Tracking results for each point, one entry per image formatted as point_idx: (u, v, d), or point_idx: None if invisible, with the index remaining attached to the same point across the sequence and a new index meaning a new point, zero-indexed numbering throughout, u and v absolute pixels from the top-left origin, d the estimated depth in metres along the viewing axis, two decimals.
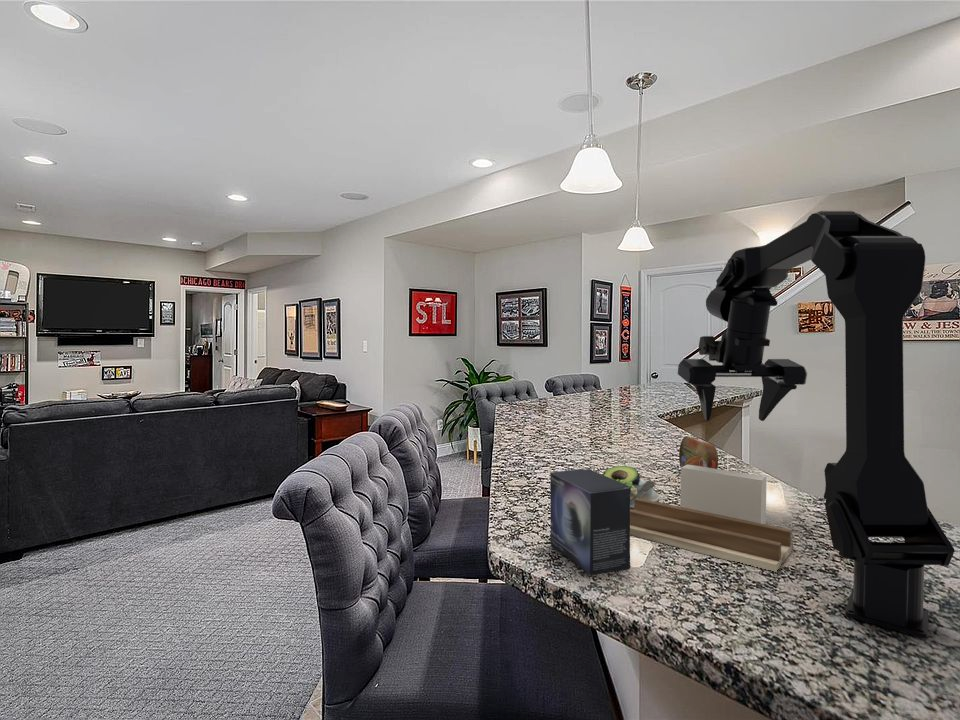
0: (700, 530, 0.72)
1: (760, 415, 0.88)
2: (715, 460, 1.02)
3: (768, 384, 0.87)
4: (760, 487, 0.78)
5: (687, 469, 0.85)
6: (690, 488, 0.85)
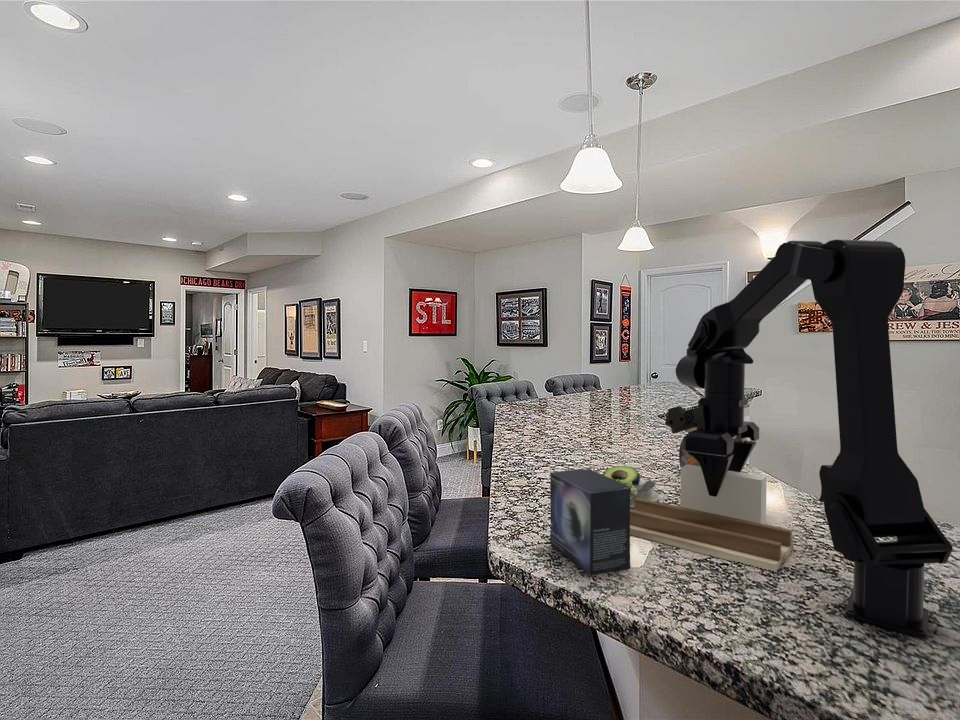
0: (700, 530, 0.72)
1: None
2: None
3: None
4: (760, 487, 0.78)
5: (687, 469, 0.85)
6: (690, 488, 0.85)
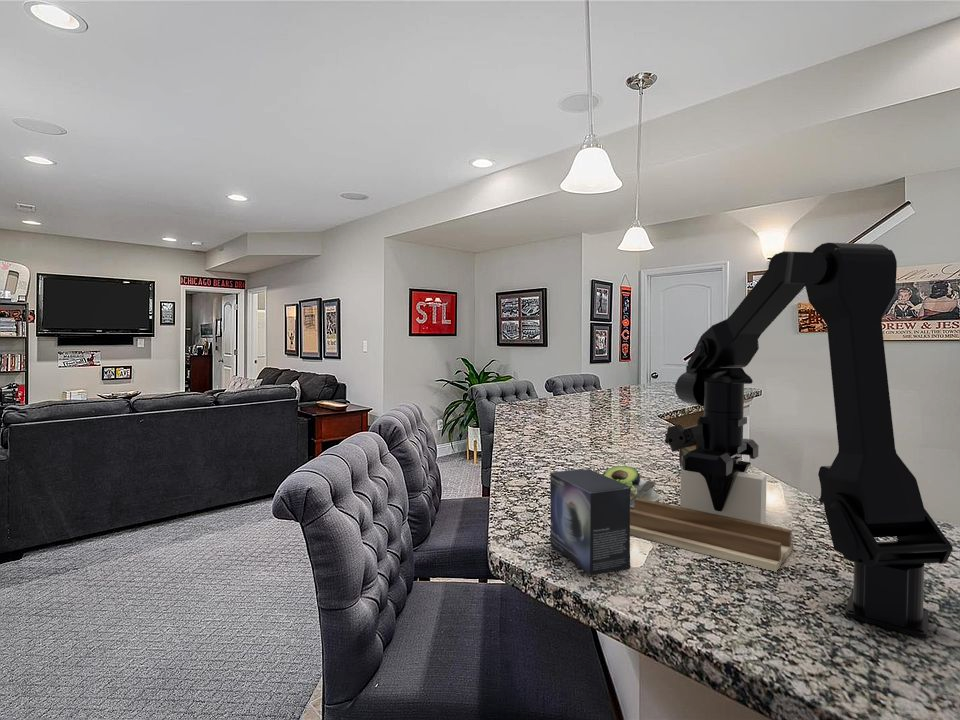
0: (700, 530, 0.72)
1: None
2: None
3: None
4: (760, 486, 0.78)
5: None
6: (690, 487, 0.85)
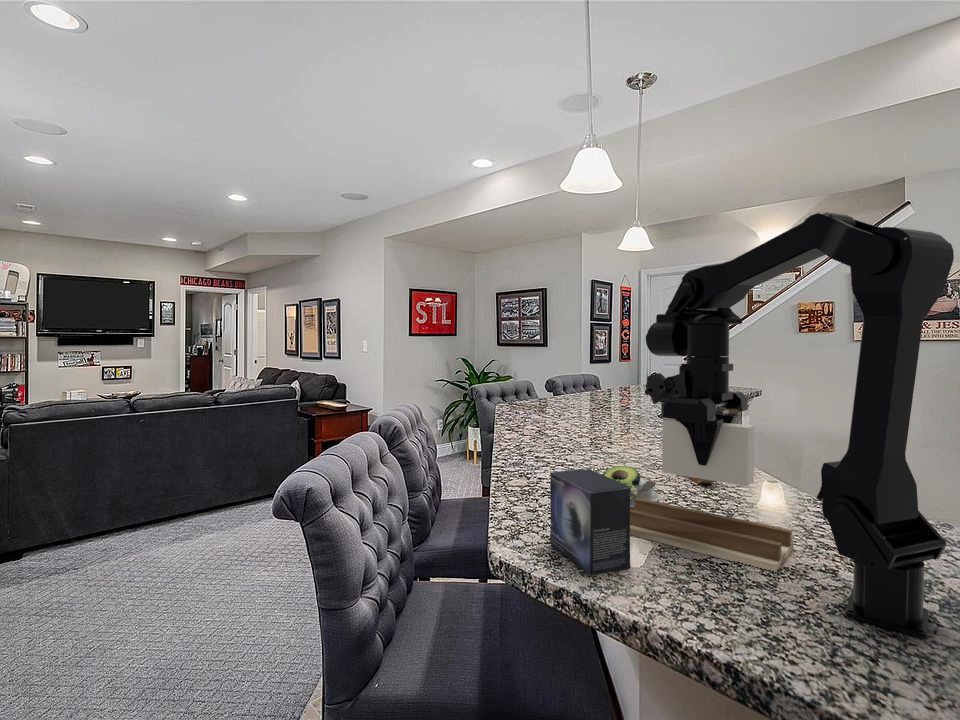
0: (700, 530, 0.72)
1: None
2: None
3: None
4: (746, 435, 0.72)
5: (669, 421, 0.79)
6: (673, 441, 0.78)
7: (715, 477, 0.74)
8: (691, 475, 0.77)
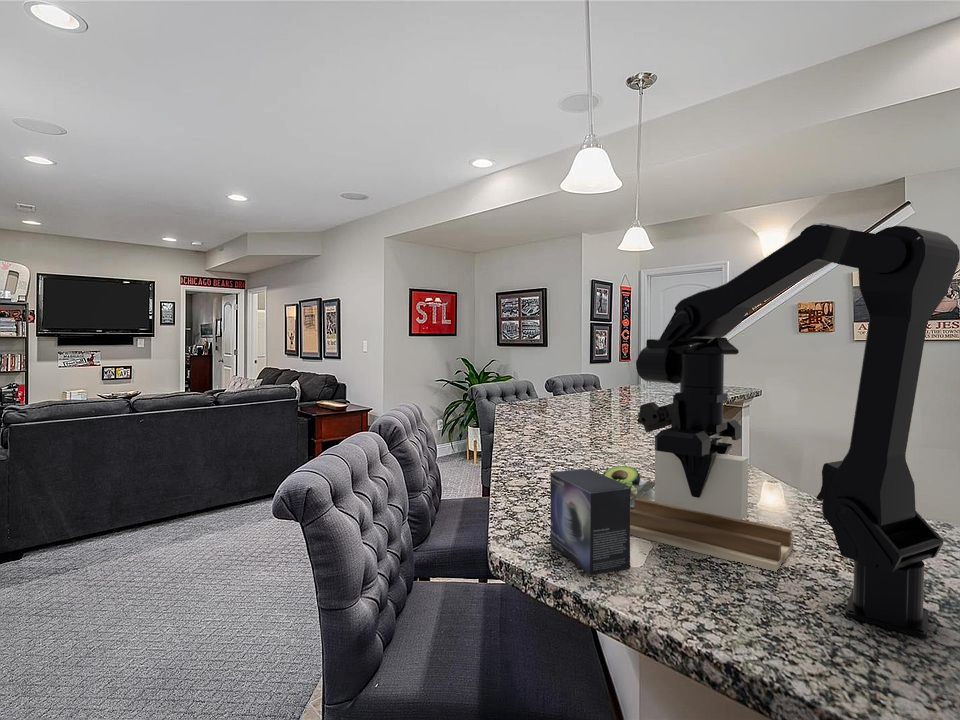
0: (700, 530, 0.72)
1: None
2: None
3: None
4: (741, 469, 0.70)
5: None
6: (665, 471, 0.77)
7: (708, 510, 0.73)
8: (684, 506, 0.75)
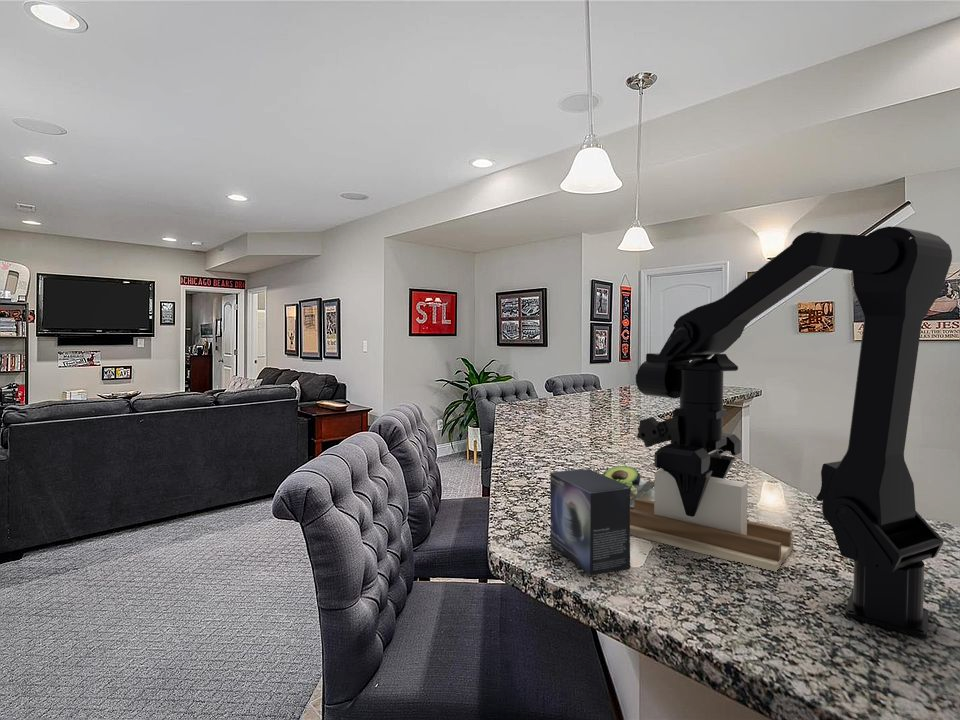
0: (700, 530, 0.72)
1: None
2: None
3: None
4: (740, 495, 0.70)
5: (661, 474, 0.77)
6: (665, 495, 0.77)
7: None
8: None
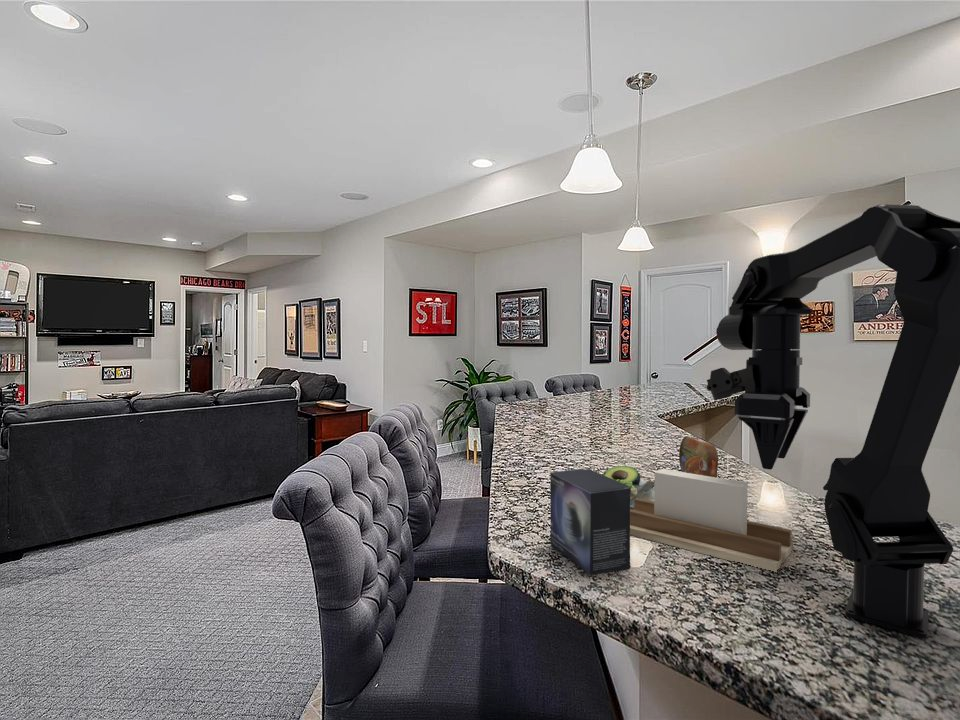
0: (700, 530, 0.72)
1: (779, 452, 0.75)
2: (715, 460, 1.02)
3: None
4: (740, 495, 0.70)
5: (661, 474, 0.77)
6: (665, 495, 0.77)
7: None
8: None
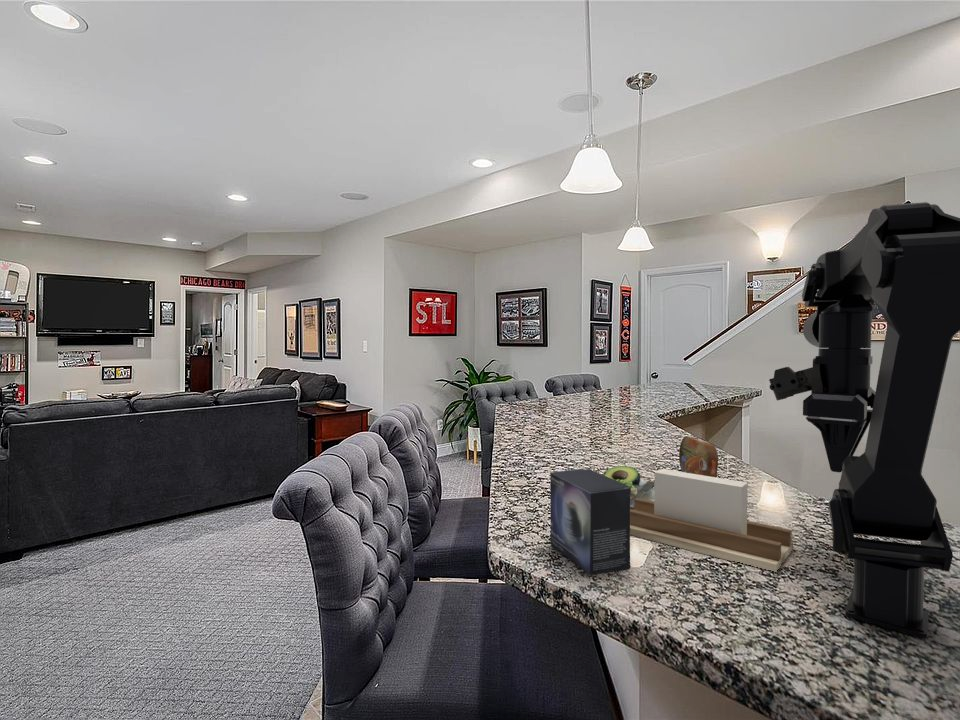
0: (700, 530, 0.72)
1: None
2: (715, 460, 1.02)
3: None
4: (740, 495, 0.70)
5: (661, 474, 0.77)
6: (665, 495, 0.77)
7: None
8: None
